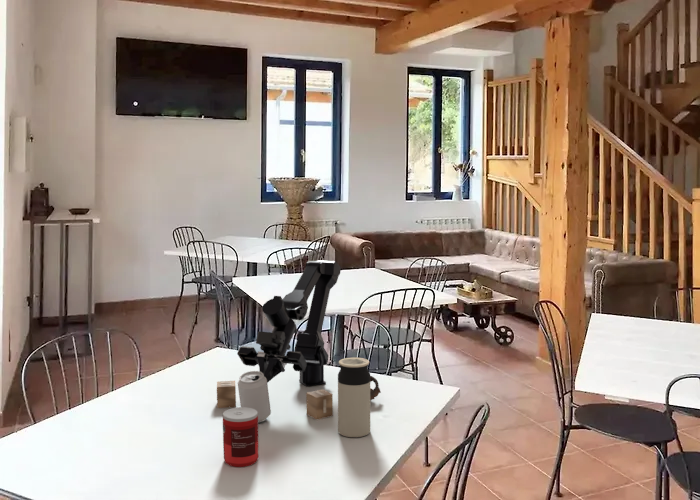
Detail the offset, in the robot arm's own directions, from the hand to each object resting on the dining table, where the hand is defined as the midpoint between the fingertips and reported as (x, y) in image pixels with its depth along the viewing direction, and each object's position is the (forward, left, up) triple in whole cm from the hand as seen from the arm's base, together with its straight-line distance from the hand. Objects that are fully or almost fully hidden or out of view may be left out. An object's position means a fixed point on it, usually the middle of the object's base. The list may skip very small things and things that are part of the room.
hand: (260, 385), depth 180 cm
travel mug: (-17, +20, -9) cm, 28 cm away
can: (+2, +1, -8) cm, 8 cm away
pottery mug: (-29, -1, -9) cm, 31 cm away
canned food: (+13, +24, -9) cm, 29 cm away
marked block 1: (+6, -14, -9) cm, 17 cm away
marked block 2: (-14, +5, -9) cm, 18 cm away
